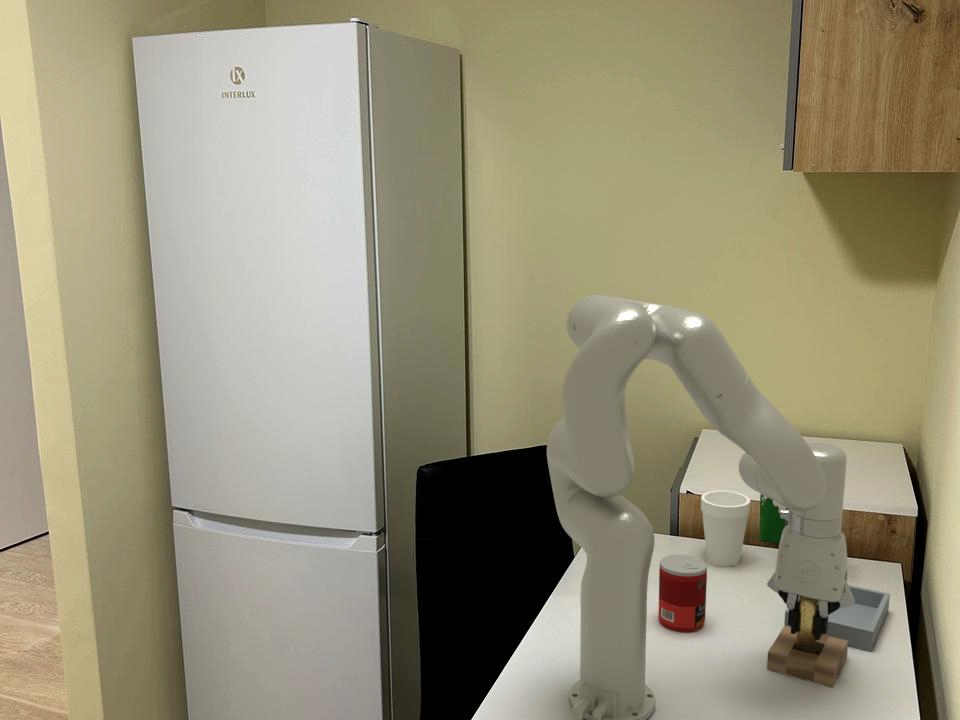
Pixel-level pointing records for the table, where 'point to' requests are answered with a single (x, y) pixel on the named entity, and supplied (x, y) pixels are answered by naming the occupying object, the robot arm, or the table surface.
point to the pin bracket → (808, 658)
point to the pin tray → (858, 618)
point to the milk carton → (771, 520)
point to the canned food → (682, 592)
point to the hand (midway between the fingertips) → (807, 632)
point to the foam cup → (724, 525)
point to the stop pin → (807, 624)
